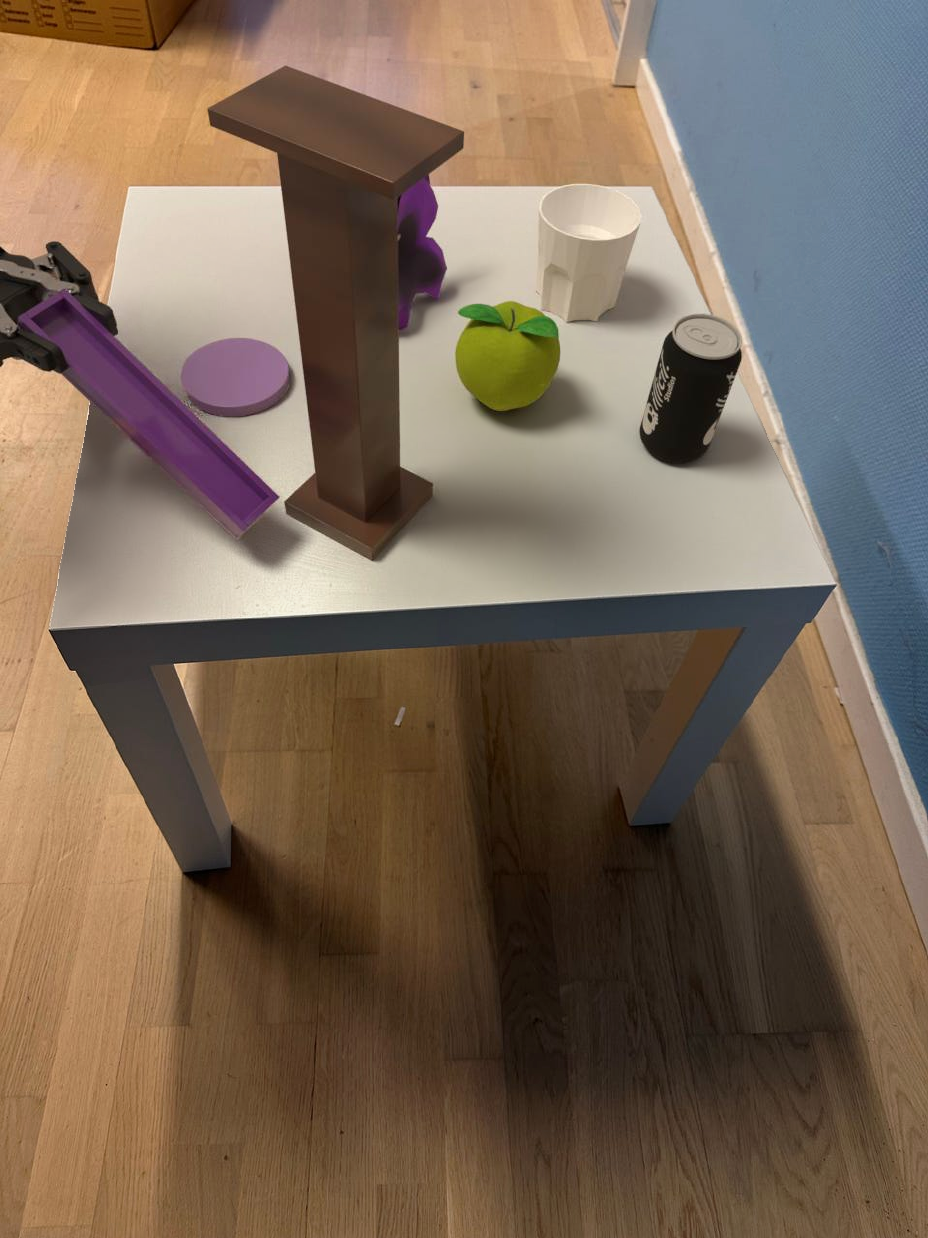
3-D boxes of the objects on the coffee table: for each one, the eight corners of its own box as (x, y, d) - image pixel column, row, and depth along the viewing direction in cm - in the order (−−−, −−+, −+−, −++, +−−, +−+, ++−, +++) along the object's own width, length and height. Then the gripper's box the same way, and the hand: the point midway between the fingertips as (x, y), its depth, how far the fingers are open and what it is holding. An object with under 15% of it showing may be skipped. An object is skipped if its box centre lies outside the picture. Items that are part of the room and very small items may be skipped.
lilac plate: (242, 431, 81) (240, 421, 80) (160, 388, 84) (157, 378, 83) (311, 373, 86) (310, 363, 85) (231, 334, 89) (229, 324, 88)
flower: (308, 356, 96) (400, 348, 87) (237, 217, 87) (332, 193, 78) (386, 289, 103) (477, 276, 95) (328, 155, 94) (423, 128, 86)
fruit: (528, 443, 82) (541, 354, 74) (438, 409, 84) (442, 319, 76) (567, 386, 87) (583, 297, 79) (481, 355, 89) (488, 265, 81)
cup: (610, 270, 99) (628, 182, 91) (630, 326, 93) (651, 238, 85) (521, 272, 98) (531, 184, 90) (536, 329, 92) (548, 241, 84)
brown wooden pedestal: (391, 571, 73) (382, 190, 47) (267, 503, 76) (194, 114, 50) (452, 504, 77) (474, 124, 51) (332, 443, 81) (295, 58, 55)
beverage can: (686, 478, 81) (724, 371, 71) (624, 445, 83) (653, 336, 73) (720, 439, 84) (761, 332, 74) (659, 408, 86) (691, 300, 76)
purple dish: (236, 540, 70) (243, 531, 69) (16, 331, 67) (17, 316, 65) (272, 506, 73) (280, 496, 71) (61, 303, 69) (64, 287, 67)
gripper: (-175, 260, 64) (-9, 352, 60) (-14, 177, 72) (144, 252, 67) (-124, 346, 71) (29, 435, 66) (19, 261, 78) (166, 336, 73)
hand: (87, 342), depth 66 cm, fingers closed on purple dish, 4 cm apart
